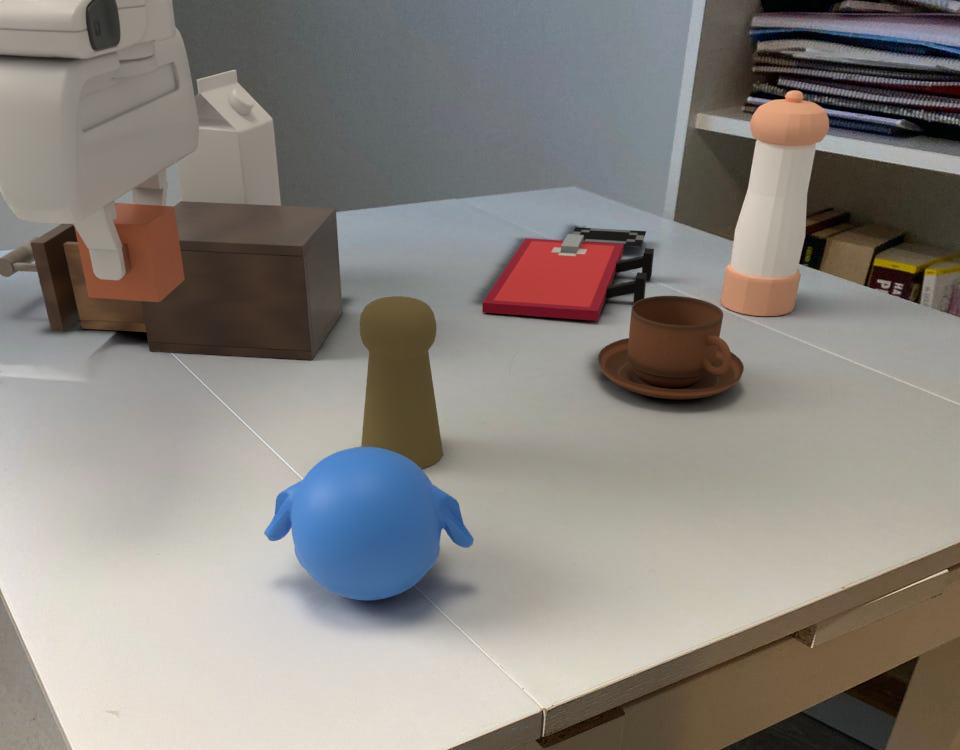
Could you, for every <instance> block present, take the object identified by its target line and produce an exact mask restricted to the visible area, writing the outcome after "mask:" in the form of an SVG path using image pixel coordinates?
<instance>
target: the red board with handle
mask: <svg viewBox="0 0 960 750" xmlns="http://www.w3.org/2000/svg"><path fill="white" fill-rule="evenodd" d="M646 234H647V230H633V229H632V230H631V229H615V228H614V229H612V228H596V227H581V226H580V227H579V226H575V227H574V229H573V231H572V232H571V233H567V234H566V236H565V238H564V240H563V239H560V240H559V239H544V238H527V237H526V238H524V239H523V241H522V243H521V244H520V246H519V247H518V248H517V250H516V252H515V253H514V255H513V256H512V257H511V259H510V260H509V262H508V264H507V265H506V267H505V268H504V270H503V271H502V273H500V276H499V277H498V279H497V280H496V282H495V283H494V285H493V286H492V288H491V289H490V291H489V292H488V294H487V295H486V297H485V298H484V300H483V301H482V306H481V307H482V313H485V314H487V313H488V314H498V315H510V316H511V315H513V316H525V317H526V316H527V317H537V318H538V317H539V318H553V319H569V320H581V321H593V322H594V321H595V322H598V320H599V318H600V316H601V313H602V310H603V308H604V304H605V301H606V299H612V298H616V297H622V296H627V295H631V294H633V301H632V302H633V303H632V305H633V304H634V303H635V302H637V301H639V300H641V299H644V298H646V286H647V284H646V283H647V282H651V278H652V273H653V264H654V252H655V248H650V247H645V248H644V250H643V255H641V256H636V257H631V258H626V259H622V257H623V254H624V250H625V249H624V248H625V247H634V248H641V247H642V246H643V243H644V240H645V236H646ZM638 269H641V271H640V272H639V271H638V272H637V273H636V275H635V278H634V280H631V281H625V282H621V283H616V284H613V281H614V278H615V275H616V274H618V273H624V272H627V271H633V270H638Z"/></svg>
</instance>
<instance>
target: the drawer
mask: <svg viewBox="0 0 960 750" xmlns="http://www.w3.org/2000/svg"><path fill="white" fill-rule="evenodd" d="M17 272H29V273H37V276H38V280H39V284H40V289H41V293H42V297H43V301H44V305H45V309H46V314H47V318H48V322H49V326H50V331H51V332H57V333H58V332H59V333H65V332H66V331H67V330H69V329H70V328H72V327H73V326H74V325H76V324H77V323H78V322H80V326H81V329H83V330H99V331H100V330H101V331H116V332H117V331H118V332H136V333H137V332H138V333H139V332H140V333H146V327H145V322H144V316H143V311H142V305H141V301H134V300H120V299H105V298H90V297H89V295H88V290H87V285H86V280H85V275H84V270H83V265H82V260H81V256H80V251H79V246H78V241H77V236H76V231H75V226H74V225H73V224H59V225H57V226H56V227H54V228H52V229H51V230H48V231H47V232H45V233H44V234H42V235H41V236H39V237H38V236H35V237H33V238H31V239H29V240H27V241H26V242H24V243H23V244H21V245H20V246H18V247H16V248H15V249H13V250H11V251H10V252H7V253H6V254H4V255H3V256H1V257H0V276H2V277H4V278H9V277H11V276H13V275H15V274H16V273H17Z"/></svg>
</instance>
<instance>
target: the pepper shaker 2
mask: <svg viewBox="0 0 960 750" xmlns="http://www.w3.org/2000/svg"><path fill="white" fill-rule="evenodd" d="M804 98H805V97H804V94H803V92H802V91H800V90H796V89H795V90H789V91H787V93H786V94H785V95H784V98H783V99H772V100H770V101H768V102H766V103H763V104H761V105H759V106H758V107H757V109H756V110H755V111H754V113H753V114H752V115H751V119H750V121H749V128H750V133H751V136H752V138H754V139H756V141H755V143H754V144H755V146H754V149H753V150H754V151H753V156H752V163H751V168H750V169H751V170H750V173H749V174H750V175H749V179H748V180H749V181H748V185H747V190H746V193H745V197H744V200H743V203H742V206H741V209H740V213H739V216H738V219H737V222H736V225H735V229H734V234H733V235H734V236H733V242H732V251H731V258H730V262H729V263H728V264H727V265H726V266H725V271H724V278H723V285H722V288H721V289H722V290H721V295H720V296H721V297H720V304H721V305H722V306H723V307H724V308H726V309H728V310H729V311H732V312H735V313H739V314H743V315H749V316H756V317H778V316H783V315H787V314H789V313H791V312H792V311H793V310H795V306H796V300H797V296H798V290H799V285H800V281H801V276H802V275H801V271H800V269H799V264H800V262H801V261H800V260H801V256H802V253H803V252H802V251H803V248H804V243H805V239H806V230H807V229H806V227H807V205H808V192H809V186H810V181H811V175H812V171H813V166H814V165H813V164H814V159H815V155H816V150H817V144H818V143H821V142H822V141H824V138H825V137H826V135H827V134H828V132H829V130H830V118H829V116H828V114H827V111H826V110H825V109H824V108H823V107H822V106H821V105H819V104H817V103H816V102H813V101H810V100H803V99H804Z"/></svg>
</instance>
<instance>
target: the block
mask: <svg viewBox="0 0 960 750" xmlns="http://www.w3.org/2000/svg"><path fill="white" fill-rule="evenodd" d="M115 208H116V214H117V218H116V219H114V220H113V222H114V225H115V227H116V230H117V233H118V235H119V238H120V241H121V243H126V244H127V245H128V251H129V256H130V258H129V259H130V262H131V270H130V272H129V273H128V274H126V275H125V276H124V277H122V278H121V279H120V280H104V279H99V278H98V277H96V275H95V274H94V272H93V267H92V262H91V257H90V252H89V248H87V246H86V245H85V243H84V241H83V240H82V238H81V236H80V235H79V233H78V231H77V230H76V228H75V231H76V236H77V241H78V246H79V251H80V256H81V260H82V265H83V270H84V275H85V280H86V285H87V290H88V295H89V297H90V298H105V299H120V300H134V301H149V302H160V301H161V300H163V299H164V298H165V297H166V296H167V295H168V294H169V293H170V292H171V291H173V290H174V289H175V288H176V287H177V286H178V285H179V284H180V283H182V282H183V281H184V280H185V278H184V271H183V264H182V257H181V250H180V243H179V236H178V230H177V223H176V216H175V209H174V205H173V206H172V205H171V206H170V205H166V206H158V205H142V204H132V203H127V202H126V203H123V202H115Z"/></svg>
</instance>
